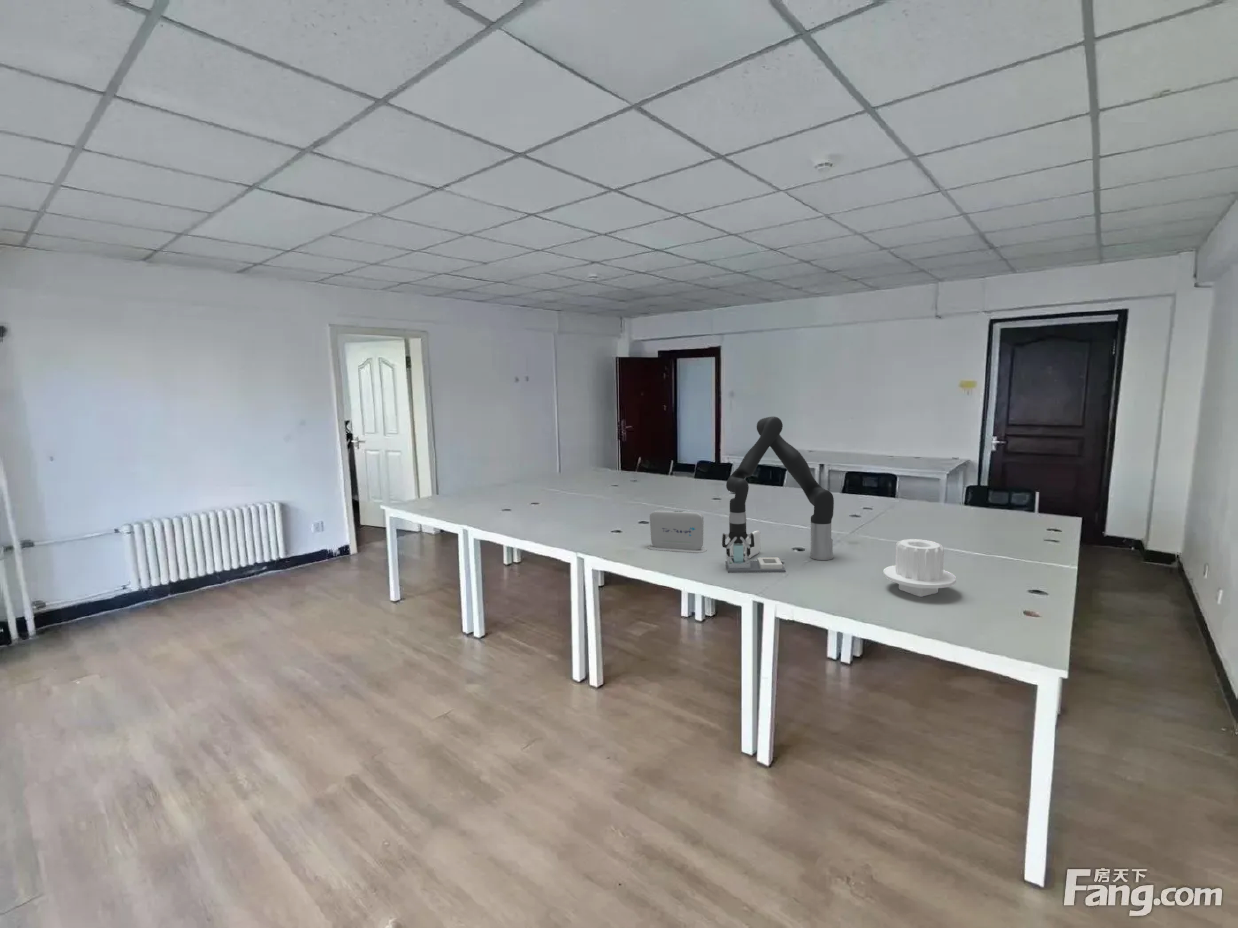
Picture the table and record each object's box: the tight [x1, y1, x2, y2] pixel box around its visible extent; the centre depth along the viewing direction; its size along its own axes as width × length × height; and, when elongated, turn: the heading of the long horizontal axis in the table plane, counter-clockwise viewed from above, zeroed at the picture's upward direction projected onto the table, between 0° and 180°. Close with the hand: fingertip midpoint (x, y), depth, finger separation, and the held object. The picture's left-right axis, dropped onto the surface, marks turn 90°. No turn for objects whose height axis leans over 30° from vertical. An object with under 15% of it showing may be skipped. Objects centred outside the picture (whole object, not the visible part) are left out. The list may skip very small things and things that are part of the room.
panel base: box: [724, 560, 786, 574], centre depth 258 cm, size 25×14×1 cm, turn 84°
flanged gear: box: [882, 538, 957, 598], centre depth 220 cm, size 25×25×19 cm
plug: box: [732, 543, 744, 562], centre depth 258 cm, size 4×5×10 cm
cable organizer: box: [727, 530, 761, 560], centre depth 278 cm, size 15×11×12 cm
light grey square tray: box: [756, 557, 783, 569], centre depth 257 cm, size 10×10×2 cm
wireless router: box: [647, 509, 708, 554], centre depth 292 cm, size 31×10×20 cm, turn 68°
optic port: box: [726, 556, 750, 569], centre depth 259 cm, size 10×10×3 cm
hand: (738, 556), depth 258 cm, fingers open, 8 cm apart
